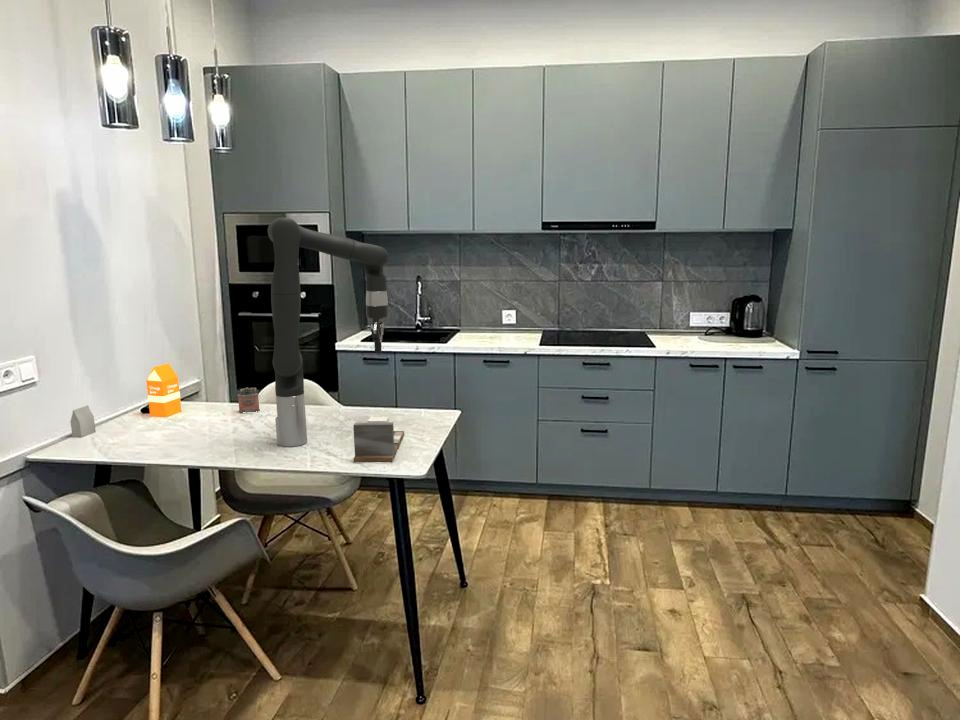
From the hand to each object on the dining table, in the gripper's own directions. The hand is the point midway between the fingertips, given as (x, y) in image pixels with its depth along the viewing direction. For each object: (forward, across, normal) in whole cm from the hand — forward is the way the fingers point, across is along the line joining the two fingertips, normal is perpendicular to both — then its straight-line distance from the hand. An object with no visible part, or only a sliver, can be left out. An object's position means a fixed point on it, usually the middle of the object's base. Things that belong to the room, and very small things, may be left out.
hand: (378, 352), depth 231 cm
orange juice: (+30, -25, -90) cm, 98 cm away
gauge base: (+29, +20, +3) cm, 35 cm away
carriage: (+27, +23, +5) cm, 36 cm away
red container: (+30, -27, -57) cm, 70 cm away
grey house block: (+30, +1, -107) cm, 111 cm away
